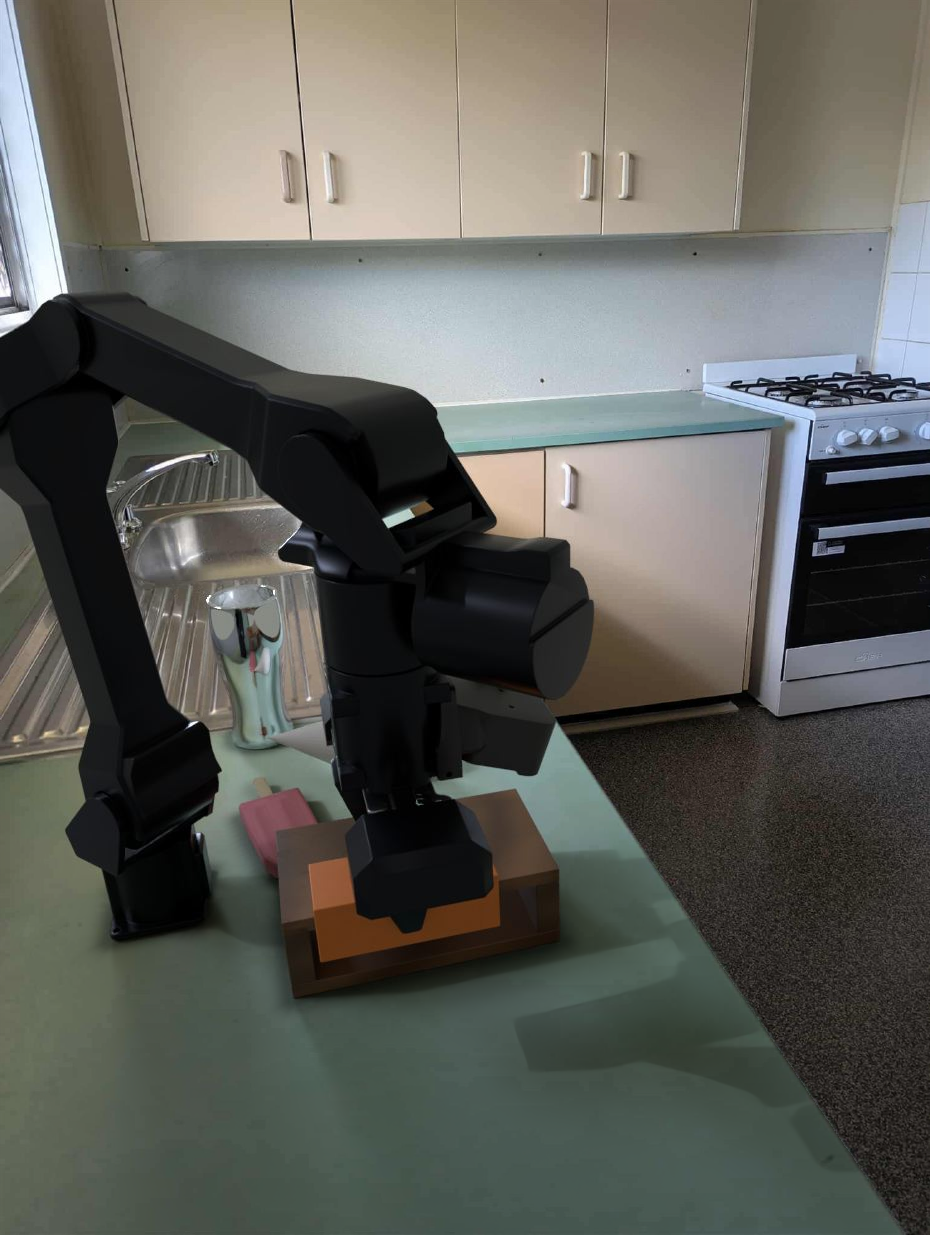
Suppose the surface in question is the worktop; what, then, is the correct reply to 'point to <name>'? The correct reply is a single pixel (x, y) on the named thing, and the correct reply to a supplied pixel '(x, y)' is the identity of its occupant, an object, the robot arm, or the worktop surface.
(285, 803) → the popsicle
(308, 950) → the shelf
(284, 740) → the ice cream cone
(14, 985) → the worktop surface
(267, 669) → the beer glass
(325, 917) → the orange rectangular block
